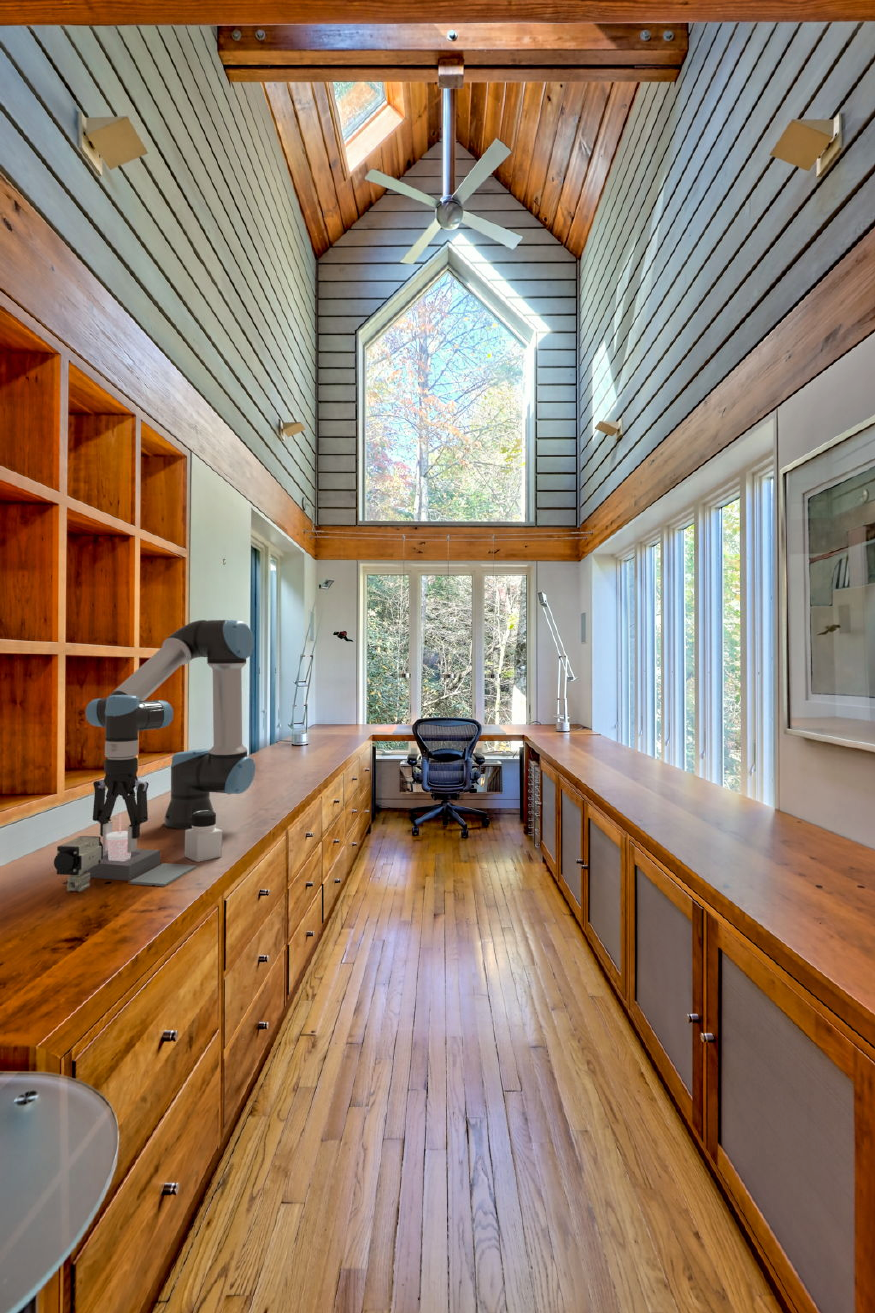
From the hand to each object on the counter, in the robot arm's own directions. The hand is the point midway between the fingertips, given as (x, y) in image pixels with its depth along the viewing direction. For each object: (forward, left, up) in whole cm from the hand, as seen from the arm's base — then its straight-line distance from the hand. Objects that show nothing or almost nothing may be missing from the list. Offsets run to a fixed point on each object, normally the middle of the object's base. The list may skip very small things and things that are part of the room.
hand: (119, 850), depth 165 cm
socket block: (0, 0, -5) cm, 5 cm away
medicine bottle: (-15, +15, -5) cm, 21 cm away
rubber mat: (+1, +13, -5) cm, 14 cm away
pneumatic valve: (+14, 0, -5) cm, 15 cm away
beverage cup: (0, 0, -5) cm, 5 cm away
